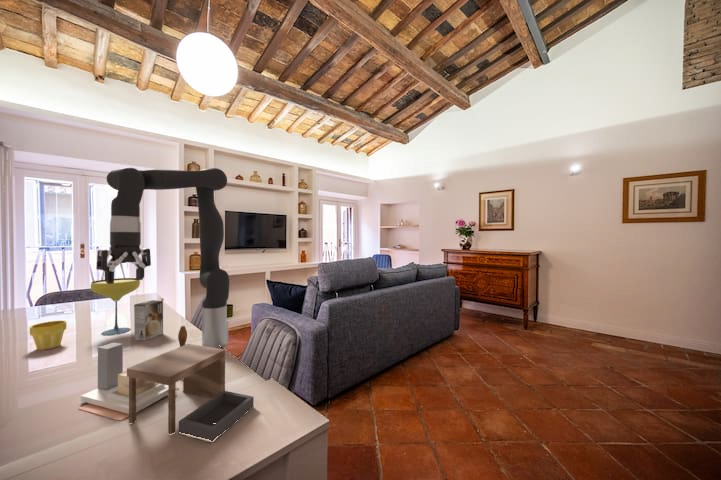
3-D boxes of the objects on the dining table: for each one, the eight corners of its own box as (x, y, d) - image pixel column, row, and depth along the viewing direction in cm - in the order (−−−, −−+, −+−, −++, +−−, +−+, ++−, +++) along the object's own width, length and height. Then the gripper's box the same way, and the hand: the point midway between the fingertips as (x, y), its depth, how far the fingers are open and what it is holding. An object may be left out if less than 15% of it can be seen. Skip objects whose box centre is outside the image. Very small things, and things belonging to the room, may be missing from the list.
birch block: (140, 385, 84) (140, 365, 84) (155, 388, 82) (155, 368, 82) (117, 396, 78) (117, 374, 78) (133, 399, 76) (133, 377, 76)
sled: (127, 380, 90) (127, 338, 89) (175, 390, 84) (175, 345, 84) (80, 401, 78) (80, 352, 78) (131, 414, 72) (132, 362, 72)
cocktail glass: (132, 323, 150) (133, 277, 149) (145, 330, 139) (145, 280, 139) (86, 332, 135) (86, 281, 135) (95, 341, 124) (96, 284, 124)
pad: (140, 380, 91) (140, 379, 91) (178, 388, 86) (178, 388, 86) (78, 409, 75) (78, 408, 75) (120, 421, 71) (120, 420, 71)
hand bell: (170, 370, 98) (170, 324, 98) (197, 365, 101) (197, 321, 101) (164, 381, 90) (164, 331, 90) (194, 376, 94) (194, 328, 94)
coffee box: (152, 333, 136) (152, 299, 136) (163, 334, 134) (163, 300, 134) (133, 339, 127) (133, 304, 126) (145, 340, 125) (145, 304, 125)
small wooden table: (187, 389, 85) (187, 343, 85) (224, 397, 81) (225, 349, 81) (126, 424, 69) (126, 368, 69) (169, 437, 65) (169, 377, 65)
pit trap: (223, 401, 80) (223, 390, 80) (253, 407, 77) (253, 396, 77) (178, 433, 66) (178, 421, 66) (212, 443, 63) (212, 430, 63)
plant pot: (24, 349, 115) (24, 325, 115) (59, 341, 124) (59, 319, 124) (36, 353, 111) (36, 329, 111) (71, 344, 120) (71, 321, 120)
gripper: (108, 230, 82) (107, 285, 82) (156, 231, 95) (156, 279, 95) (90, 230, 84) (90, 284, 84) (140, 231, 97) (140, 278, 98)
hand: (125, 281), depth 90 cm, fingers open, 8 cm apart
